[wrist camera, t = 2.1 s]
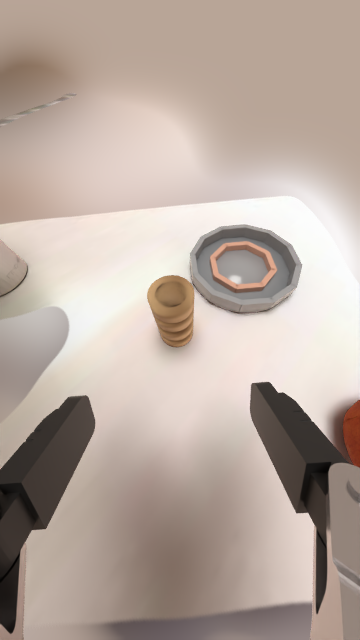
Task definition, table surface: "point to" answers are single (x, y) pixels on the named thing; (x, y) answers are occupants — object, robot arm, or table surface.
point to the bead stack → (173, 309)
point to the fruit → (352, 433)
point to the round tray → (244, 268)
